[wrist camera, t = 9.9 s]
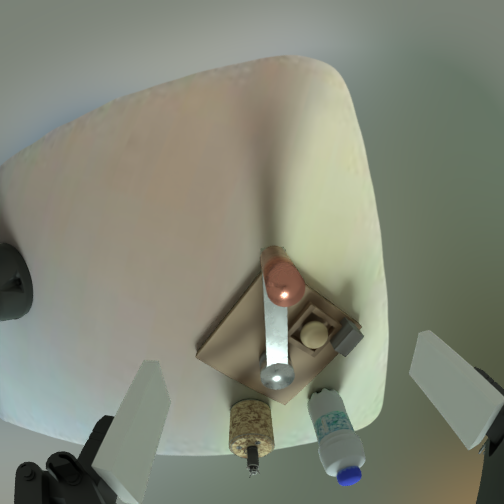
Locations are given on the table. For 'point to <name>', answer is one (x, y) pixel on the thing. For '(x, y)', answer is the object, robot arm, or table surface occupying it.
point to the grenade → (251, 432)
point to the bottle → (336, 437)
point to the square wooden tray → (303, 358)
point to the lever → (278, 314)
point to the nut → (314, 334)
